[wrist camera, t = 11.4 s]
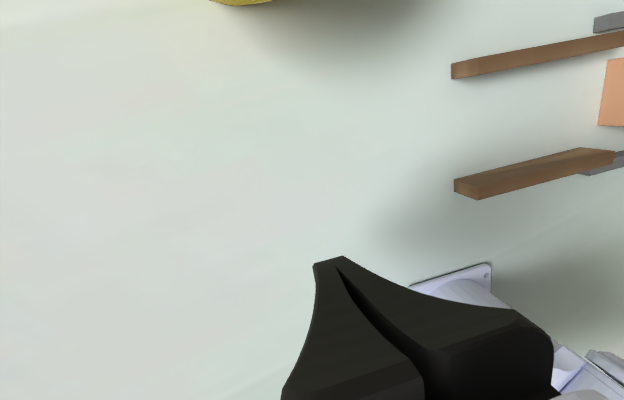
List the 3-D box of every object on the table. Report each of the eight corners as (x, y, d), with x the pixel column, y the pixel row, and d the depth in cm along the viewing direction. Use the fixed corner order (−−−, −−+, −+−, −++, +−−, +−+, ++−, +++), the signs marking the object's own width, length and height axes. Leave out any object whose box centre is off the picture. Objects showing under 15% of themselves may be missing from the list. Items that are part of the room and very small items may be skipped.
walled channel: (578, 158, 25) (612, 163, 23) (454, 191, 23) (477, 200, 21) (592, 37, 22) (633, 28, 20) (451, 63, 20) (477, 57, 18)
